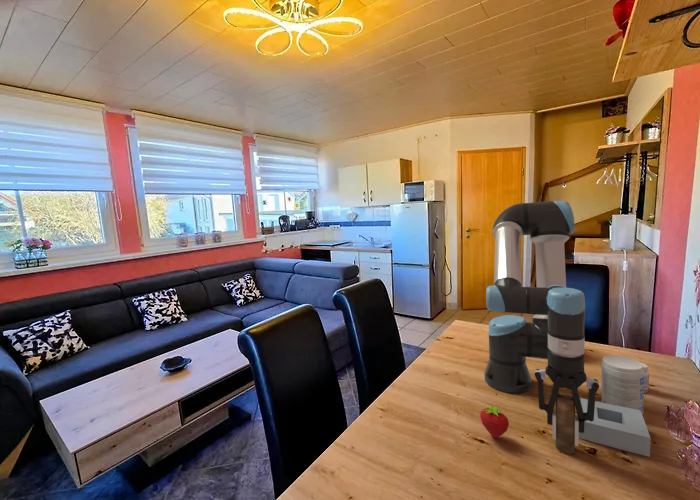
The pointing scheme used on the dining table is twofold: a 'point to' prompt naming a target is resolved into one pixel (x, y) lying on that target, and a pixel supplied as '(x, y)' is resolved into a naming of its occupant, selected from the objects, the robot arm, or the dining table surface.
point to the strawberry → (494, 421)
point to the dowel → (565, 423)
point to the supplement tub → (623, 382)
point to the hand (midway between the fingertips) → (565, 439)
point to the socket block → (617, 428)
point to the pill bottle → (646, 378)
